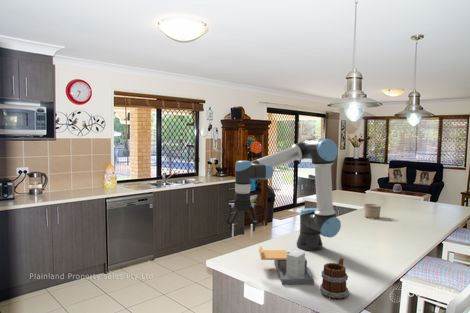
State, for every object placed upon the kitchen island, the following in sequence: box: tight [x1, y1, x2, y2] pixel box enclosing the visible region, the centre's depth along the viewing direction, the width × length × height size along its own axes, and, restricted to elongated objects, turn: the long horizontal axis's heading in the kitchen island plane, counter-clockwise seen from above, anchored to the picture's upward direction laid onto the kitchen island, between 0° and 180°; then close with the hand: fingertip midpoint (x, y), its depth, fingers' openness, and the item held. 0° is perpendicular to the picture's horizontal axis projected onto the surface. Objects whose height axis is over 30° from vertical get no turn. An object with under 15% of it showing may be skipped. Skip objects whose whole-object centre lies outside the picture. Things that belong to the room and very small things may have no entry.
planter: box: [363, 203, 382, 219], centre depth 274 cm, size 13×13×10 cm
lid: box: [258, 245, 288, 261], centre depth 166 cm, size 14×12×3 cm
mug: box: [319, 257, 350, 301], centre depth 140 cm, size 12×14×15 cm
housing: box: [273, 251, 315, 286], centre depth 160 cm, size 14×25×6 cm, turn 1°
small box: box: [286, 249, 306, 278], centre depth 155 cm, size 8×6×10 cm
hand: (242, 237), depth 165 cm, fingers open, 9 cm apart
